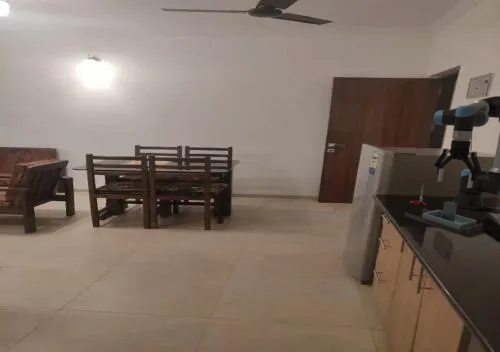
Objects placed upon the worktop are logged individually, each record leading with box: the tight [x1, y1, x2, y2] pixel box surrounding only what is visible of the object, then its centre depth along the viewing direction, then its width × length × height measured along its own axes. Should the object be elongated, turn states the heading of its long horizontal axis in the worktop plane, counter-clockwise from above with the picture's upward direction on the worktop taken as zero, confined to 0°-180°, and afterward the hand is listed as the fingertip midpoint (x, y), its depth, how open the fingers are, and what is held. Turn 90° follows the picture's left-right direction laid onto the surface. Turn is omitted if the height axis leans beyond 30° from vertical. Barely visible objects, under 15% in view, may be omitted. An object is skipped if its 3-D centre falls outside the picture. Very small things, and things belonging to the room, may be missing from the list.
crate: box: [421, 209, 478, 230], centre depth 152 cm, size 14×18×4 cm
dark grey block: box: [442, 201, 458, 222], centre depth 152 cm, size 4×4×10 cm
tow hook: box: [409, 184, 428, 206], centre depth 190 cm, size 8×13×9 cm
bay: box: [403, 208, 484, 237], centre depth 155 cm, size 17×29×4 cm, turn 29°
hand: (454, 184), depth 149 cm, fingers open, 13 cm apart
